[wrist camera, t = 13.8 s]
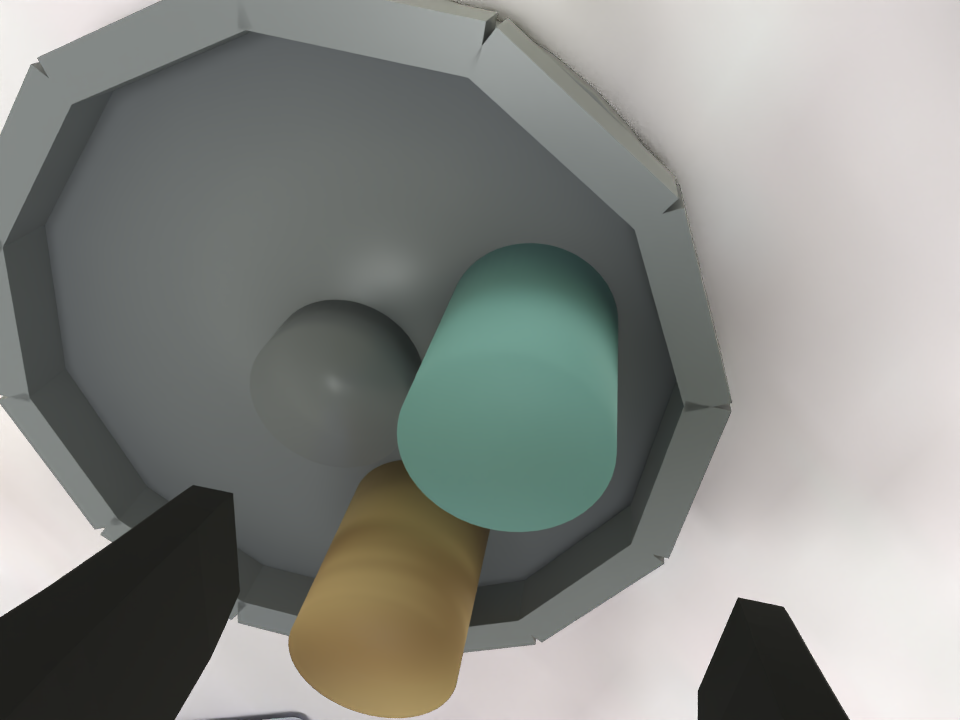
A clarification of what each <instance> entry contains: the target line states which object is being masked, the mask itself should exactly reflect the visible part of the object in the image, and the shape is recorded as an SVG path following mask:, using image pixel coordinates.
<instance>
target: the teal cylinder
mask: <svg viewBox="0 0 960 720" xmlns="http://www.w3.org/2000/svg"><path fill="white" fill-rule="evenodd" d="M617 391H618V312H617V307H616V303H615V300H614V297H613V294H612V292H611V290H610V288H609V287H608V285H607V283H606V282H605V280H604V279H603V278H602V276H601V275H600V274H599V273H598V272H597V271H596V270H595V269H594V268H593V267H592V266H591V265H590V264H589V263H587V262H586V261H585V260H583V259H582V258H580V257H578V256H577V255H575V254H573V253H571V252H569V251H567V250H564V249H562V248H558V247H555V246H551V245H546V244H538V243H522V244H514V245H509V246H505V247H502V248H499V249H496V250H494V251H492V252H490V253H488V254H486V255H485V256H483V257H482V258H480V259H479V260H477V261H476V262H475V263H474V264H473V265H471V266H470V267H469V268H468V270H467V271H466V272H465V273H464V274H463V276H462V277H461V279H460V281H459V282H458V284H457V286H456V288H455V290H454V293H453V295H452V297H451V299H450V301H449V304H448V306H447V308H446V310H445V312H444V315H443V317H442V319H441V321H440V324H439V326H438V328H437V330H436V332H435V335H434V337H433V339H432V341H431V343H430V346H429V348H428V350H427V352H426V354H425V357H424V359H423V361H422V363H421V365H420V368H419V370H418V372H417V374H416V377H415V379H414V381H413V383H412V385H411V388H410V390H409V392H408V394H407V396H406V399H405V401H404V403H403V405H402V408H401V410H400V414H399V418H398V425H397V441H398V447H399V452H400V456H401V458H402V461H403V464H404V466H405V468H406V470H407V472H408V474H409V475H410V477H411V479H412V480H413V481H414V483H415V484H416V485H417V487H418V488H419V489H420V490H421V491H422V492H423V493H424V494H425V495H426V496H427V497H428V498H429V499H430V500H431V501H432V502H434V503H435V504H436V505H437V506H439V507H440V508H442V509H443V510H445V511H446V512H448V513H449V514H451V515H453V516H455V517H457V518H459V519H461V520H463V521H466V522H468V523H470V524H474V525H477V526H480V527H483V528H488V529H492V530H498V531H507V532H529V531H538V530H543V529H548V528H552V527H555V526H558V525H561V524H563V523H566V522H568V521H570V520H572V519H574V518H576V517H577V516H579V515H581V514H582V513H584V512H585V511H586V510H587V509H589V508H590V507H591V506H592V505H593V504H594V503H595V502H596V501H597V500H598V499H599V498H600V497H601V495H602V494H603V492H604V491H605V489H606V488H607V486H608V484H609V482H610V480H611V478H612V476H613V472H614V468H615V465H616V456H617Z"/></svg>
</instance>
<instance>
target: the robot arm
mask: <svg viewBox="0 0 960 720" xmlns="http://www.w3.org/2000/svg"><path fill="white" fill-rule="evenodd" d="M239 593H240V583H239V569H238V555H237V541H236V527H235V513H234V498H233V493H230V492H225V491H221V490H216V489H211V488H206V487H201V486H196V485H192V486H191V487H189V488H188V489H186V490H185V491H183V492H182V493H180V494H179V495H177V496H176V497H175V498H173V499H172V500H170V501H169V502H168V503H166V504H165V505H163V506H162V507H161V508H159V509H158V510H156V511H155V512H154V513H152V514H151V515H150V516H148V517H147V518H145V519H144V520H143V521H141V522H140V523H138V524H137V525H136V526H134V527H133V528H132V529H130V530H129V531H127V532H126V533H125V534H123V535H122V536H120V537H119V538H118V539H116V540H115V541H113V542H112V543H111V544H109V545H108V546H106V547H105V548H104V549H102V550H101V551H99V552H98V553H96V554H95V555H93V556H92V557H91V558H89V559H88V560H86V561H85V562H83V563H82V564H80V565H79V566H77V567H76V568H75V569H73V570H72V571H70V572H69V573H67V574H66V575H64V576H63V577H62V578H60V579H59V580H57V581H56V582H54V583H53V584H51V585H50V586H48V587H47V588H45V589H44V590H42V591H41V592H39V593H38V594H36V595H35V596H33V597H31V598H30V599H28V600H27V601H25V602H24V603H22V604H20V605H19V606H17V607H16V608H14V609H12V610H11V611H9V612H8V613H6V614H5V615H3V616H1V617H0V720H175V718H176V716H177V715H178V713H179V711H180V710H181V708H182V706H183V705H184V703H185V701H186V699H187V698H188V696H189V694H190V693H191V691H192V689H193V688H194V686H195V684H196V682H197V681H198V679H199V677H200V676H201V674H202V672H203V670H204V669H205V667H206V665H207V663H208V662H209V660H210V658H211V656H212V654H213V652H214V650H215V647H216V645H217V643H218V641H219V639H220V637H221V634H222V632H223V630H224V628H225V626H226V623H227V621H228V619H229V616H230V614H231V612H232V609H233V607H234V605H235V602H236V600H237V598H238V595H239ZM264 720H301V719H299V718H296V717H287V718H276V719H264ZM698 720H850V719H849V718H848V716H847V715H846V713H845V711H844V710H843V708H842V706H841V705H840V703H839V701H838V699H837V698H836V696H835V694H834V693H833V691H832V689H831V687H830V686H829V684H828V682H827V681H826V679H825V677H824V676H823V674H822V672H821V670H820V669H819V667H818V665H817V663H816V662H815V660H814V658H813V656H812V655H811V653H810V651H809V649H808V648H807V646H806V644H805V642H804V641H803V639H802V637H801V635H800V634H799V632H798V630H797V628H796V627H795V625H794V623H793V621H792V620H791V618H790V616H789V614H788V613H787V611H786V610H785V608H784V607H782V606H777V605H772V604H767V603H762V602H758V601H753V600H748V599H743V598H738V599H737V601H736V603H735V606H734V608H733V610H732V613H731V615H730V617H729V620H728V622H727V624H726V627H725V629H724V631H723V634H722V636H721V638H720V641H719V643H718V645H717V648H716V650H715V652H714V655H713V657H712V659H711V662H710V664H709V666H708V669H707V671H706V673H705V676H704V678H703V680H702V683H701V685H700V687H699V690H698Z"/></svg>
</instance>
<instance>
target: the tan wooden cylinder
mask: <svg viewBox="0 0 960 720" xmlns="http://www.w3.org/2000/svg"><path fill="white" fill-rule="evenodd" d="M489 532H490V529H488V528H483V527H480V526H477V525H474V524H470V523H468V522H466V521H463V520H461V519H459V518H457V517H455V516H453V515H451V514H449V513H448V512H446V511H445V510H443V509H442V508H440V507H439V506H437V505H436V504H435V503H434V502H432V501H431V500H430V499H429V498H428V497H427V496H426V495H425V494H424V493H423V492H422V491H421V490H420V489H419V488H418V487H417V485H416V484H415V483H414V481H413V480H412V479H411V477H410V475H409V474H408V472H407V470H406V468H405V466H404V464H403V461H402V460H398V461H393V462H389V463H386V464H383V465H381V466H379V467H377V468H375V469H373V470H372V471H370V472H369V473H368V474H367V475H366V476H365V477H364V478H363V479H362V481H361V482H360V483H359V485H358V487H357V489H356V491H355V494H354V496H353V498H352V500H351V502H350V504H349V506H348V509H347V511H346V513H345V515H344V517H343V519H342V521H341V524H340V526H339V528H338V530H337V532H336V534H335V536H334V539H333V541H332V543H331V545H330V547H329V549H328V551H327V554H326V556H325V558H324V560H323V562H322V564H321V566H320V569H319V571H318V573H317V575H316V577H315V579H314V582H313V584H312V586H311V588H310V590H309V592H308V594H307V597H306V599H305V601H304V603H303V605H302V607H301V609H300V612H299V614H298V616H297V618H296V620H295V622H294V624H293V627H292V629H291V631H290V635H289V644H288V645H289V652H290V656H291V659H292V661H293V663H294V665H295V667H296V669H297V670H298V672H299V673H300V675H301V676H302V677H303V678H304V679H305V680H306V682H308V683H309V684H310V685H311V686H312V687H313V688H314V689H315V690H317V691H318V692H319V693H320V694H322V695H323V696H325V697H326V698H328V699H330V700H331V701H333V702H335V703H337V704H339V705H341V706H343V707H346V708H348V709H350V710H353V711H356V712H359V713H363V714H367V715H371V716H377V717H385V718H407V717H414V716H419V715H423V714H426V713H429V712H431V711H433V710H435V709H437V708H438V707H440V706H441V705H443V704H444V703H445V702H446V701H447V700H448V699H449V698H450V696H451V695H452V694H453V692H454V689H455V687H456V683H457V679H458V674H459V670H460V665H461V661H462V656H463V651H464V647H465V642H466V638H467V633H468V628H469V624H470V619H471V615H472V610H473V605H474V601H475V596H476V592H477V587H478V582H479V578H480V573H481V569H482V564H483V559H484V555H485V550H486V546H487V541H488V536H489Z"/></svg>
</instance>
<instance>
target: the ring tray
mask: <svg viewBox="0 0 960 720" xmlns="http://www.w3.org/2000/svg"><path fill="white" fill-rule="evenodd" d="M497 14H498V12H495V11H490V10H485V9H480V8H475V7H471V6H466V5H461V4H459V3H457V2H455V1H452V0H162V1H159V2H157V3H155V4H153V5H151V6H149V7H146V8H144V9H142V10H140V11H138V12H135V13H133V14H131V15H129V16H127V17H125V18H122V19H120V20H118V21H116V22H114V23H112V24H109V25H107V26H105V27H103V28H101V29H99V30H96V31H94V32H92V33H90V34H88V35H86V36H83V37H81V38H79V39H77V40H75V41H73V42H70V43H68V44H66V45H64V46H62V47H60V48H57V49H55V50H53V51H51V52H49V53H47V54H44V55H42V56H40V57H38V58H37V59H38V60H39V62H38V63H34V64H31V65H30V68H29V70H28V72H27V74H26V77H25V79H24V81H23V84H22V86H21V88H20V91H19V93H18V95H17V97H16V100H15V102H14V104H13V107H12V109H11V111H10V114H9V116H8V118H7V121H6V123H5V125H4V127H3V130H2V132H1V134H0V395H3V397H1V398H0V404H1V405H2V407H3V408H4V409H5V411H6V412H7V413H8V415H9V416H10V417H11V419H12V420H13V421H14V423H15V424H16V425H17V427H18V428H19V429H20V431H21V432H22V433H23V435H24V436H25V437H26V439H27V440H28V441H29V443H30V444H31V445H32V447H33V448H34V449H35V451H36V452H37V453H38V455H39V456H40V457H41V459H42V460H43V461H44V463H45V464H46V465H47V467H48V468H49V469H50V471H51V472H52V473H53V475H54V476H55V477H56V479H57V480H58V481H59V482H60V484H61V485H62V486H63V488H64V489H65V490H66V492H67V493H68V494H69V496H70V497H71V498H72V500H73V501H74V502H75V504H76V505H77V506H78V508H79V509H80V510H81V512H82V513H83V514H84V516H85V517H86V518H87V520H88V521H89V522H90V524H91V525H92V526H93V528H94V529H100V528H105V527H106V528H105V529H104V530H103V532H102V533H101V534H100V535H102V536H103V537H105V538H106V539H108V540H110V541H111V542H113V541H115V540H116V539H118V538H119V537H120V536H122V535H123V534H125V533H126V532H127V531H129V530H130V529H132V528H133V527H134V526H136V525H137V524H138V523H140V522H141V521H143V520H144V519H145V518H147V517H148V516H150V515H151V514H152V513H154V512H155V511H156V510H158V509H159V508H161V507H162V506H163V505H165V504H166V503H168V502H169V501H170V500H172V499H173V498H175V497H176V496H177V495H179V494H180V493H182V492H183V491H185V490H186V489H188V488H189V487H191V486H192V485H196V486H201V487H206V488H211V489H216V490H221V491H225V492H230V493H233V498H234V513H235V527H236V541H237V555H238V569H239V583H240V593H239V595H238V598H237V600H236V602H235V605H234V607H233V609H232V612H231V614H230V616H229V619H231V620H232V619H233V618H234V617H235V616H236V615H237V614H238V623H241V624H245V625H248V626H252V627H256V628H260V629H264V630H268V631H272V632H276V633H280V634H283V635H287V636H289V635H290V631H291V629H292V627H293V624H294V622H295V620H296V618H297V616H298V614H299V612H300V609H301V607H302V605H303V603H304V601H305V599H306V597H307V594H308V592H309V590H310V588H311V586H312V584H313V582H314V579H315V577H316V575H317V573H318V571H319V569H320V566H321V564H322V562H323V560H324V558H325V556H326V554H327V551H328V549H329V547H330V545H331V543H332V541H333V539H334V536H335V534H336V532H337V530H338V528H339V526H340V524H341V521H342V519H343V517H344V515H345V513H346V511H347V509H348V506H349V504H350V502H351V500H352V498H353V496H354V494H355V491H356V489H357V487H358V485H359V483H360V482H361V481H362V479H363V478H364V477H365V476H366V475H367V474H368V473H369V472H370V471H372V470H373V469H375V468H377V467H379V466H381V465H383V464H386V463H389V462H393V461H398V460H402V458H401V456H400V452H399V447H398V441H397V425H398V418H399V414H400V410H401V408H402V405H403V403H404V401H405V399H406V396H407V394H408V392H409V390H410V388H411V385H412V383H413V381H414V379H415V377H416V374H417V372H418V370H419V368H420V365H421V363H422V361H423V359H424V357H425V354H426V352H427V350H428V348H429V346H430V343H431V341H432V339H433V337H434V335H435V332H436V330H437V328H438V326H439V324H440V321H441V319H442V317H443V315H444V312H445V310H446V308H447V306H448V304H449V301H450V299H451V297H452V295H453V293H454V290H455V288H456V286H457V284H458V282H459V281H460V279H461V277H462V276H463V274H464V273H465V272H466V271H467V270H468V268H469V267H470V266H471V265H473V264H474V263H475V262H476V261H477V260H479V259H480V258H482V257H483V256H485V255H486V254H488V253H490V252H492V251H494V250H496V249H499V248H502V247H505V246H509V245H514V244H522V243H538V244H546V245H551V246H555V247H558V248H562V249H564V250H567V251H569V252H571V253H573V254H575V255H577V256H578V257H580V258H582V259H583V260H585V261H586V262H587V263H589V264H590V265H591V266H592V267H593V268H594V269H595V270H596V271H597V272H598V273H599V274H600V275H601V276H602V278H603V279H604V280H605V282H606V283H607V285H608V287H609V288H610V290H611V292H612V294H613V297H614V300H615V303H616V307H617V312H618V391H617V456H616V465H615V468H614V472H613V476H612V478H611V480H610V482H609V484H608V486H607V488H606V489H605V491H604V492H603V494H602V495H601V497H600V498H599V499H598V500H597V501H596V502H595V503H594V504H593V505H592V506H591V507H590V508H589V509H587V510H586V511H585V512H584V513H582V514H581V515H579V516H577V517H576V518H574V519H572V520H570V521H568V522H566V523H563V524H561V525H558V526H555V527H552V528H548V529H543V530H538V531H529V532H507V531H498V530H492V529H490V532H489V536H488V541H487V546H486V550H485V555H484V559H483V564H482V569H481V573H480V578H479V582H478V587H477V592H476V596H475V601H474V605H473V610H472V615H471V619H470V624H469V628H468V633H467V638H466V642H465V647H464V651H463V653H464V652H473V651H482V650H491V649H500V648H509V647H518V646H527V645H535V644H536V639H538V640H539V641H541V642H543V641H545V640H546V639H548V638H549V637H551V636H553V635H554V634H556V633H557V632H559V631H560V630H562V629H563V628H565V627H567V626H568V625H570V624H571V623H573V622H574V621H576V620H577V619H579V618H580V617H582V616H584V615H585V614H587V613H588V612H590V611H591V610H593V609H594V608H596V607H598V606H599V605H601V604H602V603H604V602H605V601H607V600H608V599H610V598H612V597H613V596H615V595H616V594H618V593H619V592H621V591H622V590H624V589H625V588H627V587H629V586H630V585H632V584H633V583H635V582H636V581H638V580H639V579H641V578H643V577H644V576H646V575H647V574H649V573H650V572H652V571H653V570H655V569H656V568H658V567H660V566H661V565H663V564H664V557H665V558H669V557H670V554H671V552H672V550H673V547H674V545H675V542H676V540H677V538H678V535H679V533H680V531H681V528H682V526H683V524H684V521H685V519H686V517H687V514H688V512H689V510H690V507H691V505H692V503H693V500H694V498H695V495H696V493H697V491H698V488H699V486H700V484H701V481H702V479H703V477H704V474H705V472H706V470H707V467H708V465H709V463H710V460H711V458H712V455H713V453H714V451H715V448H716V446H717V444H718V441H719V439H720V437H721V434H722V432H723V430H724V427H725V425H726V423H727V420H728V418H729V416H730V413H731V408H730V403H732V401H731V396H730V392H729V387H728V383H727V378H726V374H725V369H724V365H723V361H722V357H721V353H720V349H719V344H718V340H717V336H716V332H715V328H714V324H713V320H712V316H711V312H710V308H709V304H708V300H707V295H706V291H705V287H704V283H703V279H702V274H701V269H700V265H699V261H698V258H697V255H696V250H695V246H694V242H693V238H692V234H691V230H690V226H689V222H688V218H687V214H686V210H685V205H684V201H683V197H682V193H681V189H680V185H679V184H678V185H676V182H675V177H674V175H673V174H672V173H671V172H670V171H669V170H668V169H667V168H666V167H665V166H664V165H663V164H662V163H661V162H660V161H658V160H657V159H656V158H655V157H654V156H653V155H652V154H651V153H650V152H649V151H648V150H647V149H646V148H645V147H644V146H643V145H642V143H641V142H640V140H639V139H638V137H637V136H636V134H635V133H634V131H633V130H632V129H631V128H630V127H629V126H628V124H627V123H626V122H625V121H624V120H623V119H622V118H621V117H620V116H619V115H618V114H617V112H616V111H615V110H614V109H613V108H612V107H611V106H610V105H609V104H608V103H607V102H606V100H605V99H604V98H603V97H602V96H601V95H600V94H599V93H598V92H597V91H596V89H594V88H593V87H592V86H591V85H590V84H588V83H587V82H586V81H585V80H584V79H582V78H581V77H580V76H579V75H577V74H576V73H575V72H574V71H573V70H571V69H570V68H569V67H568V66H567V65H565V64H564V63H563V62H562V61H561V60H559V59H558V58H557V57H556V56H555V55H553V54H552V53H551V52H549V51H547V50H546V49H544V48H543V47H541V46H539V45H538V44H536V43H535V42H533V41H532V40H531V39H530V38H529V37H528V36H527V35H526V34H525V33H524V32H523V31H522V30H520V29H519V28H518V27H517V26H516V25H515V24H514V23H513V22H512V21H511V20H510V19H509V18H507V19H505V20H504V21H503V22H500V21H497Z"/></svg>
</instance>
